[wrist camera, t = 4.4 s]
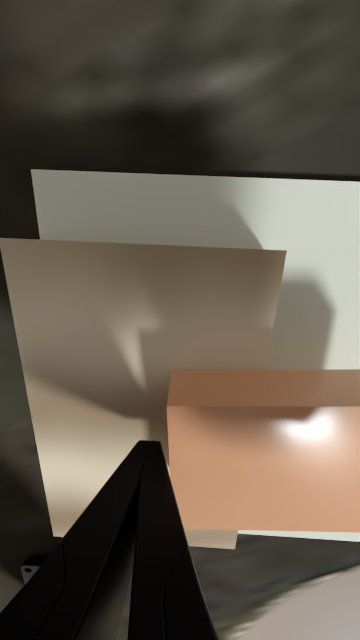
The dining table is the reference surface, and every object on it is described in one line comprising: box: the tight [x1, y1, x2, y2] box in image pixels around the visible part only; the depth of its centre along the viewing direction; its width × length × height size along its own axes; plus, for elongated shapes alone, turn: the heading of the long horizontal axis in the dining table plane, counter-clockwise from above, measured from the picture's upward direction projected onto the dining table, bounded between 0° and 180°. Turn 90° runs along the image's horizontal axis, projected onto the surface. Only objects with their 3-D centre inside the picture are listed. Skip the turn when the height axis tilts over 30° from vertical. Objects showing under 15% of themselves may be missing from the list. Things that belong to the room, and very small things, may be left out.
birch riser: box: [0, 238, 287, 549], centre depth 10 cm, size 14×9×2 cm, turn 178°
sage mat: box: [31, 169, 360, 542], centre depth 11 cm, size 19×19×1 cm
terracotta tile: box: [167, 369, 360, 533], centre depth 8 cm, size 5×8×2 cm, turn 92°
